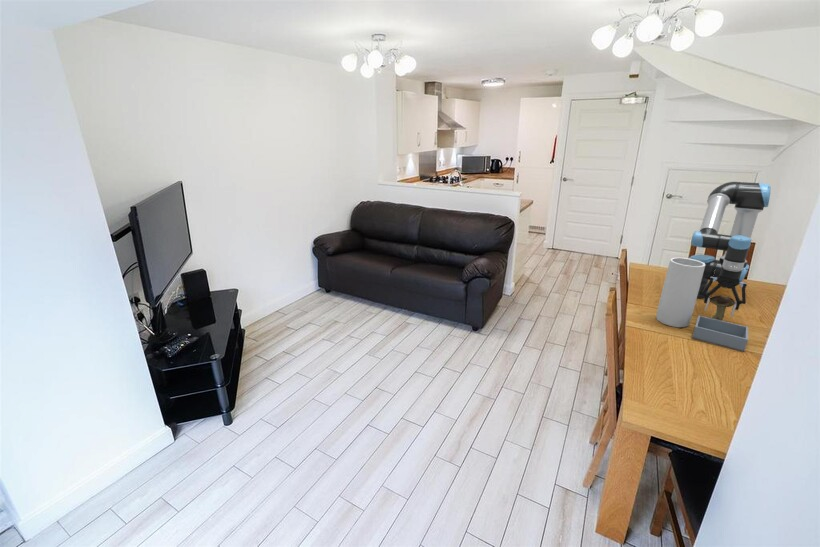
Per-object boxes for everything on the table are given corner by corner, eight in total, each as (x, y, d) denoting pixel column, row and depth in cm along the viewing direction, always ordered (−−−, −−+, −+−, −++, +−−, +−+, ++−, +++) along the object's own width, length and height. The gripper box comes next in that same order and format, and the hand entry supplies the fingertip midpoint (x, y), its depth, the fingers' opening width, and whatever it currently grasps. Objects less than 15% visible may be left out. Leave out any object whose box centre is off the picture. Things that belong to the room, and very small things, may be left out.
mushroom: (730, 330, 184) (740, 301, 179) (710, 328, 186) (719, 299, 181) (719, 321, 193) (728, 293, 188) (700, 319, 195) (709, 292, 189)
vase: (686, 318, 196) (702, 259, 185) (692, 330, 184) (709, 268, 173) (653, 313, 202) (667, 255, 191) (657, 324, 189) (672, 264, 179)
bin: (695, 326, 188) (698, 315, 186) (744, 338, 177) (748, 326, 175) (691, 338, 177) (695, 326, 175) (744, 352, 166) (748, 339, 164)
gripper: (702, 266, 184) (690, 308, 191) (763, 276, 170) (748, 321, 178) (703, 262, 189) (691, 303, 197) (762, 272, 176) (748, 316, 183)
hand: (718, 312), depth 187 cm, fingers closed on mushroom, 9 cm apart
